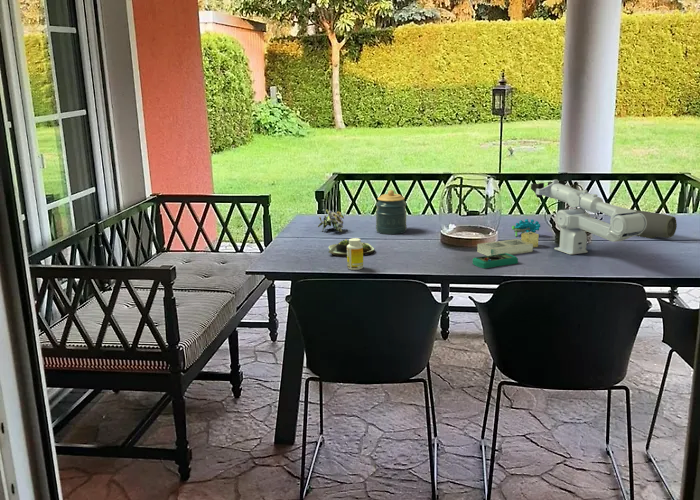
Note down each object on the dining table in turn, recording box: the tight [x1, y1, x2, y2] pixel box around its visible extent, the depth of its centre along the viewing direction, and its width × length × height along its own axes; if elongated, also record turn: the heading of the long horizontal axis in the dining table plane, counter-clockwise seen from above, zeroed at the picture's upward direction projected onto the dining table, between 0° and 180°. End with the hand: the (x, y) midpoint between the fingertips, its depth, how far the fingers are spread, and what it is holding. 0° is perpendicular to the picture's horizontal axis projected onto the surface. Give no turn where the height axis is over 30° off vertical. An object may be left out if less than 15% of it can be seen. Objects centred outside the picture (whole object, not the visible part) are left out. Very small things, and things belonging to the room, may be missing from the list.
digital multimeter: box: [472, 253, 519, 269], centre depth 242 cm, size 7×15×3 cm, turn 113°
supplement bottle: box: [346, 237, 364, 271], centre depth 239 cm, size 6×6×10 cm
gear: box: [511, 218, 541, 238], centre depth 279 cm, size 11×6×10 cm
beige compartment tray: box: [476, 238, 534, 256], centre depth 256 cm, size 9×18×3 cm, turn 112°
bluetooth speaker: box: [633, 209, 678, 239], centre depth 275 cm, size 23×9×10 cm, turn 42°
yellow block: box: [520, 231, 540, 249], centre depth 263 cm, size 4×4×5 cm
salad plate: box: [328, 238, 376, 258], centre depth 264 cm, size 19×18×5 cm
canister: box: [375, 189, 408, 235], centre depth 292 cm, size 13×13×18 cm
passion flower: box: [317, 209, 345, 233], centre depth 295 cm, size 11×11×12 cm
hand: (540, 185), depth 268 cm, fingers open, 7 cm apart
